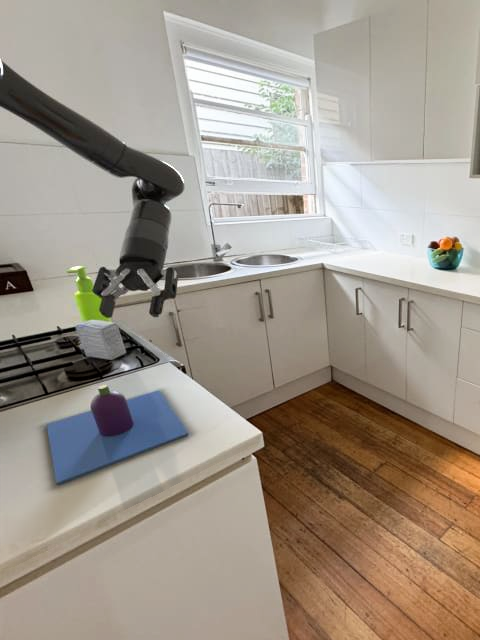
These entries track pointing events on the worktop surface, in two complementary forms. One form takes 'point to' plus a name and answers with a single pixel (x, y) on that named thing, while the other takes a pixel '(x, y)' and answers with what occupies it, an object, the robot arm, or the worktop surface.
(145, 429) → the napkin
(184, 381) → the worktop surface
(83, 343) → the medicine box
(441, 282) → the worktop surface
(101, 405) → the eggplant
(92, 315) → the soap dispenser
